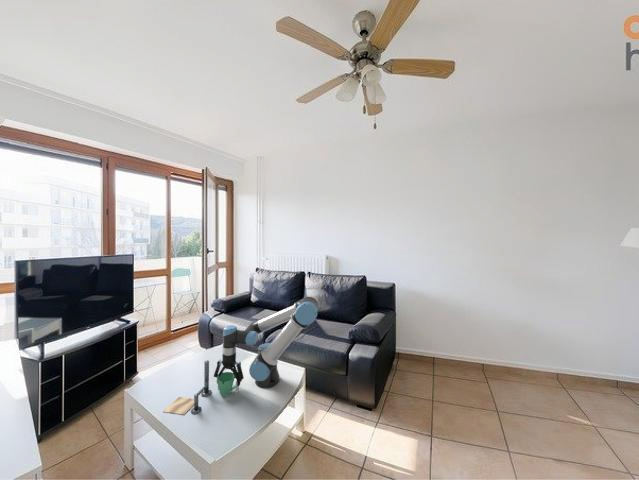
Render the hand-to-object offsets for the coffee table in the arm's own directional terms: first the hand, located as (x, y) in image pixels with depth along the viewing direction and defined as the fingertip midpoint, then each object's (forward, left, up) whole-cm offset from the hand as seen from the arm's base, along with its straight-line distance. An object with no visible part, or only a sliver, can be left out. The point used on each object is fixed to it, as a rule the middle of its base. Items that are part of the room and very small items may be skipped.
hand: (228, 389), depth 153 cm
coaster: (+18, +16, -1) cm, 24 cm away
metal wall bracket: (+9, +11, -1) cm, 15 cm away
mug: (-1, 0, -1) cm, 1 cm away
